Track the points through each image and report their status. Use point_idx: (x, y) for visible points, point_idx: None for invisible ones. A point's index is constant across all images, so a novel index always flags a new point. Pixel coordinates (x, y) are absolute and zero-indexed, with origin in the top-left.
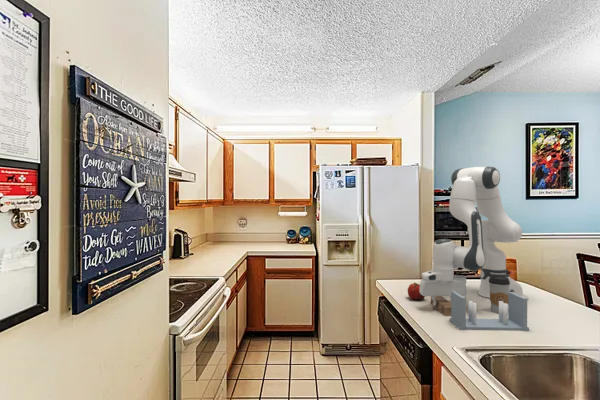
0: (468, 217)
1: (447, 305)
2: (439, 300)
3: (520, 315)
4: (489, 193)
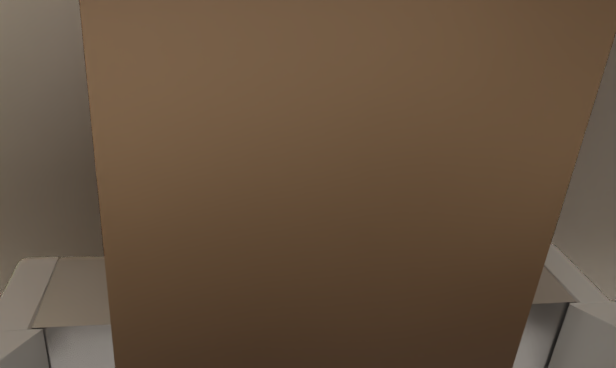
0: None
1: None
2: (222, 355)
3: None
4: None
